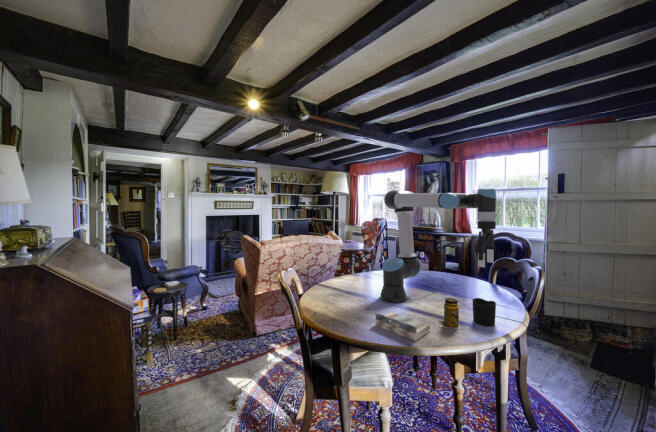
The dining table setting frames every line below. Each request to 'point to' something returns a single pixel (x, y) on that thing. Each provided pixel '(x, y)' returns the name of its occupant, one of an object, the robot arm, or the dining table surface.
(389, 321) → the cream flat block
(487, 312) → the pen holder
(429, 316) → the dining table surface
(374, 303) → the dining table surface
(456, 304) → the condiment
